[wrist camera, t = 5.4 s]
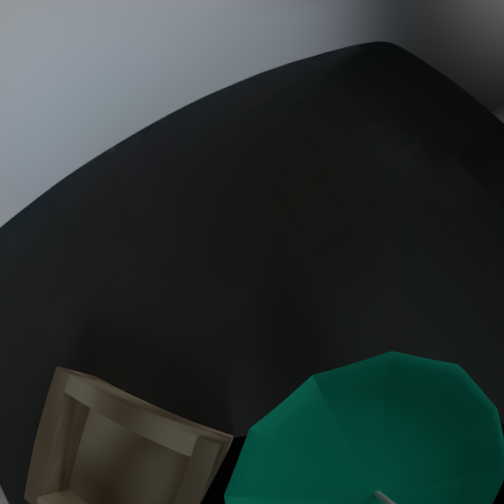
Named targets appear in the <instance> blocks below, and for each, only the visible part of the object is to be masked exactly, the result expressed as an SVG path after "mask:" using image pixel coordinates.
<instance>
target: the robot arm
mask: <svg viewBox="0 0 504 504" xmlns="http://www.w3.org/2000/svg"><path fill="white" fill-rule="evenodd" d="M501 427H502V432H503V436H504V424H502V423H501ZM246 437H247V436H243V437H236V438H234V440H233V441H232V443H231V445H230V447H229V449H228V451H227V453H226V455H225V457H224V459H223V461H222V463H221V465H220V467H219V469H218V471H217V473H216V475H215V477H214V479H213V481H212V482H211V484H210V486H209V488H208V490H207V492H206V494H205V496H204V497H203V499H202V501H201V503H200V504H225V499H224V494H225V492H226V489H227V487H228V484H229V482H230V479H231V476H232V474H233V471H234V469H235V466H236V464H237V461H238V458H239V456H240V453H241V450H242V448H243V445H244V442H245V440H246ZM493 504H504V481H503V483H502V486H501V488H500V490H499V492H498V494H497V496H496V498H495V500H494V502H493Z"/></svg>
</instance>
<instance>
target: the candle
mask: <svg viewBox="0 0 504 504" xmlns="http://www.w3.org/2000/svg"><path fill="white" fill-rule="evenodd" d="M503 481H504V436H503V432H502V427H501V423H500V418H499V414H498V410H497V408H496V407H495V405H494V404H493V403H492V402H491V401H490V399H489V398H488V397H487V396H486V395H485V394H484V392H483V391H482V390H481V389H480V388H479V387H478V386H477V384H476V383H475V382H474V381H473V380H472V379H471V378H470V377H469V375H468V374H467V373H466V372H465V371H464V370H463V369H462V368H461V367H460V366H459V365H458V364H453V363H447V362H442V361H437V360H432V359H427V358H422V357H417V356H412V355H408V354H403V353H398V352H394V351H390V352H387V353H384V354H381V355H378V356H375V357H372V358H369V359H366V360H363V361H360V362H357V363H353V364H350V365H347V366H343V367H340V368H337V369H333V370H330V371H326V372H322V373H319V374H315V375H312V376H311V377H310V378H309V379H308V380H307V381H306V382H304V383H303V384H302V385H301V386H300V387H299V388H298V389H297V390H295V391H294V392H293V393H292V394H291V395H290V396H289V397H288V398H286V399H285V400H284V401H283V402H282V403H281V404H279V405H278V406H277V407H276V408H275V409H273V410H272V411H271V412H270V413H269V414H267V415H266V416H265V417H264V418H263V419H261V420H260V421H259V422H258V423H256V424H255V425H254V426H253V427H251V428H250V429H249V432H248V434H247V437H246V440H245V442H244V445H243V448H242V450H241V453H240V456H239V458H238V461H237V464H236V466H235V469H234V471H233V474H232V476H231V479H230V482H229V484H228V487H227V489H226V492H225V494H224V499H225V504H493V502H494V500H495V498H496V496H497V494H498V492H499V490H500V488H501V486H502V483H503Z"/></svg>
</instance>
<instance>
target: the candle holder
mask: <svg viewBox="0 0 504 504" xmlns="http://www.w3.org/2000/svg"><path fill="white" fill-rule="evenodd" d="M232 439H233V435H229V434H226V433H223V432H221V431H218V430H215V429H212V428H209V427H206V426H204V425H201V424H198V423H196V422H193V421H190V420H188V419H185V418H183V417H180V416H178V415H175V414H173V413H170V412H168V411H166V410H163V409H161V408H159V407H157V406H154V405H152V404H150V403H148V402H145V401H143V400H141V399H139V398H137V397H135V396H133V395H131V394H129V393H126V392H124V391H122V390H120V389H118V388H116V387H115V386H113V385H111V384H109V383H107V382H105V381H103V380H101V379H99V378H98V377H96V376H93V375H89V374H85V373H81V372H77V371H73V370H70V369H66V368H62V367H59V366H57V368H56V371H55V373H54V377H53V380H52V383H51V386H50V389H49V392H48V396H47V399H46V402H45V406H44V409H43V413H42V416H41V420H40V424H39V428H38V432H37V436H36V440H35V444H34V448H33V453H32V457H31V462H30V467H29V472H28V478H27V483H26V490H25V496H24V498H25V499H26V500H27V501H28V502H29V503H30V504H200V503H201V501H202V499H203V497H204V496H205V494H206V492H207V490H208V488H209V486H210V484H211V482H212V481H213V479H214V477H215V475H216V473H217V471H218V469H219V467H220V465H221V463H222V461H223V459H224V457H225V455H226V453H227V451H228V449H229V447H230V445H231V442H232Z"/></svg>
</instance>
